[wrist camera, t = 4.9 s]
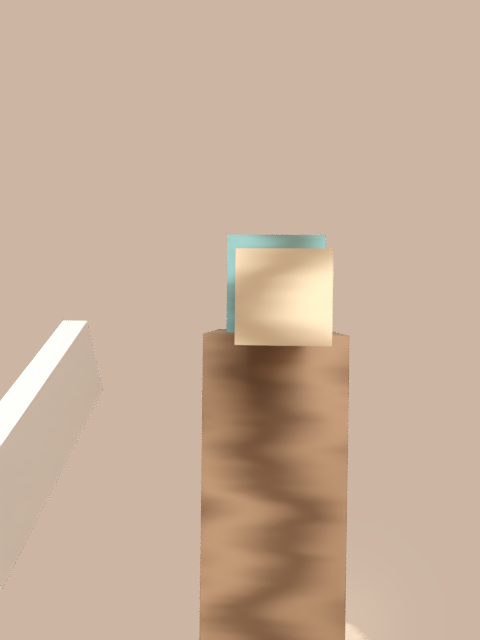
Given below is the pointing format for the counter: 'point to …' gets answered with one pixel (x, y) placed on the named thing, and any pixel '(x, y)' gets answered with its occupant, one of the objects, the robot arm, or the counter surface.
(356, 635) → the counter surface
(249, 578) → the stand
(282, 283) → the mallet
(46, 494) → the robot arm
